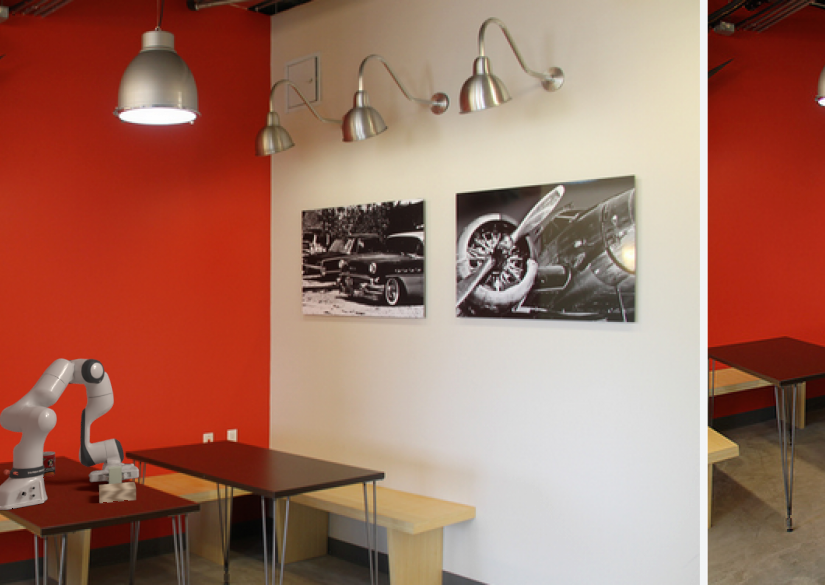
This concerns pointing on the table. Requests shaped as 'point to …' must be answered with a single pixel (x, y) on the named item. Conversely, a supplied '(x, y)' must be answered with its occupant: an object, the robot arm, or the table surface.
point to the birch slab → (117, 492)
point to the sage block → (115, 474)
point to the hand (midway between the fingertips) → (115, 478)
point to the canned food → (49, 464)
